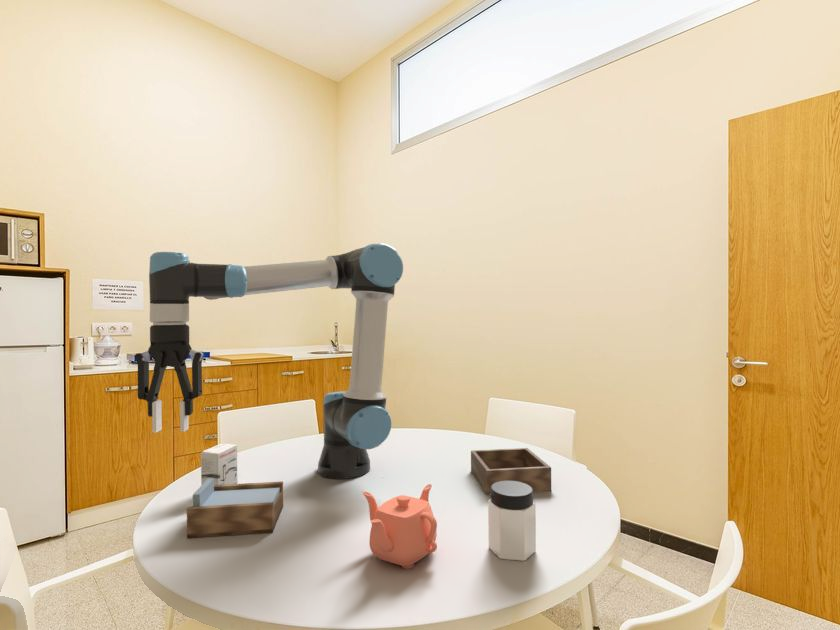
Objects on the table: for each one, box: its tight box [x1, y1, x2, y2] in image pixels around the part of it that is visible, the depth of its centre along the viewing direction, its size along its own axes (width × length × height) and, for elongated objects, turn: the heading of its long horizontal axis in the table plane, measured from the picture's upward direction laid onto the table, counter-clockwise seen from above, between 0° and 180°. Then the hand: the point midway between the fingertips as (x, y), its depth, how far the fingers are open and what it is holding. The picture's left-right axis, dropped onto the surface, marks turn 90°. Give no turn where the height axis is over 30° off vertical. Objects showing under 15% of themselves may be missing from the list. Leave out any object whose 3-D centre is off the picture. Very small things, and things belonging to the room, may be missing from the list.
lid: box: [192, 479, 280, 507], centre depth 101 cm, size 16×10×4 cm, turn 97°
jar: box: [487, 481, 537, 562], centre depth 88 cm, size 9×8×12 cm
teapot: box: [361, 484, 438, 569], centre depth 86 cm, size 14×14×11 cm
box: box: [186, 481, 284, 539], centre depth 101 cm, size 17×13×6 cm
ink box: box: [200, 443, 238, 486], centre depth 116 cm, size 9×5×12 cm, turn 168°
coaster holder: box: [470, 447, 552, 495], centre depth 124 cm, size 17×17×6 cm
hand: (170, 430), depth 99 cm, fingers open, 5 cm apart
